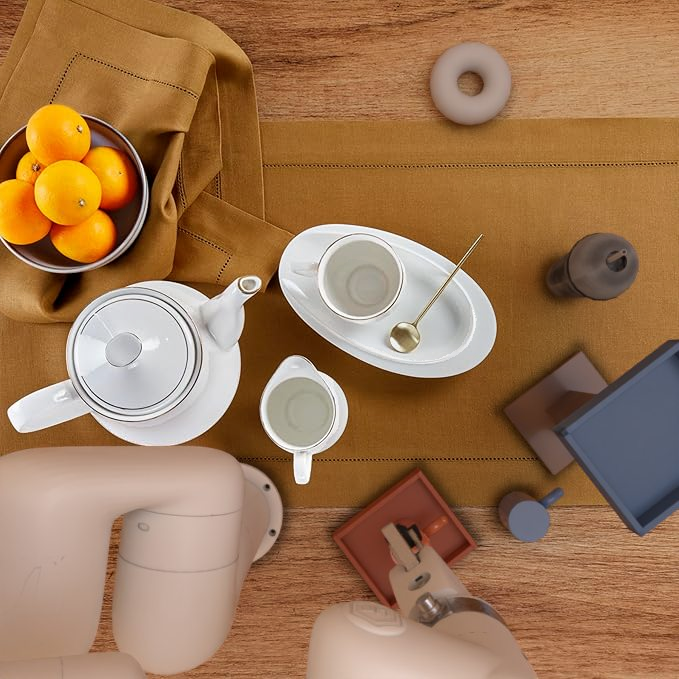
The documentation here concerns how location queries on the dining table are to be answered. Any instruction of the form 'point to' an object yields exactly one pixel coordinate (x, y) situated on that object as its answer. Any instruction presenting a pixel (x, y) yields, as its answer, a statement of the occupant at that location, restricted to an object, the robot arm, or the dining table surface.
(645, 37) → the dining table surface
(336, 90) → the dining table surface
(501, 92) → the donut
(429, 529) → the rust mug
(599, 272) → the beverage cup
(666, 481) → the blue tray
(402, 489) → the rust tray
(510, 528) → the blue mug
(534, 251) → the dining table surface
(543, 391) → the stand
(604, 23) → the dining table surface
